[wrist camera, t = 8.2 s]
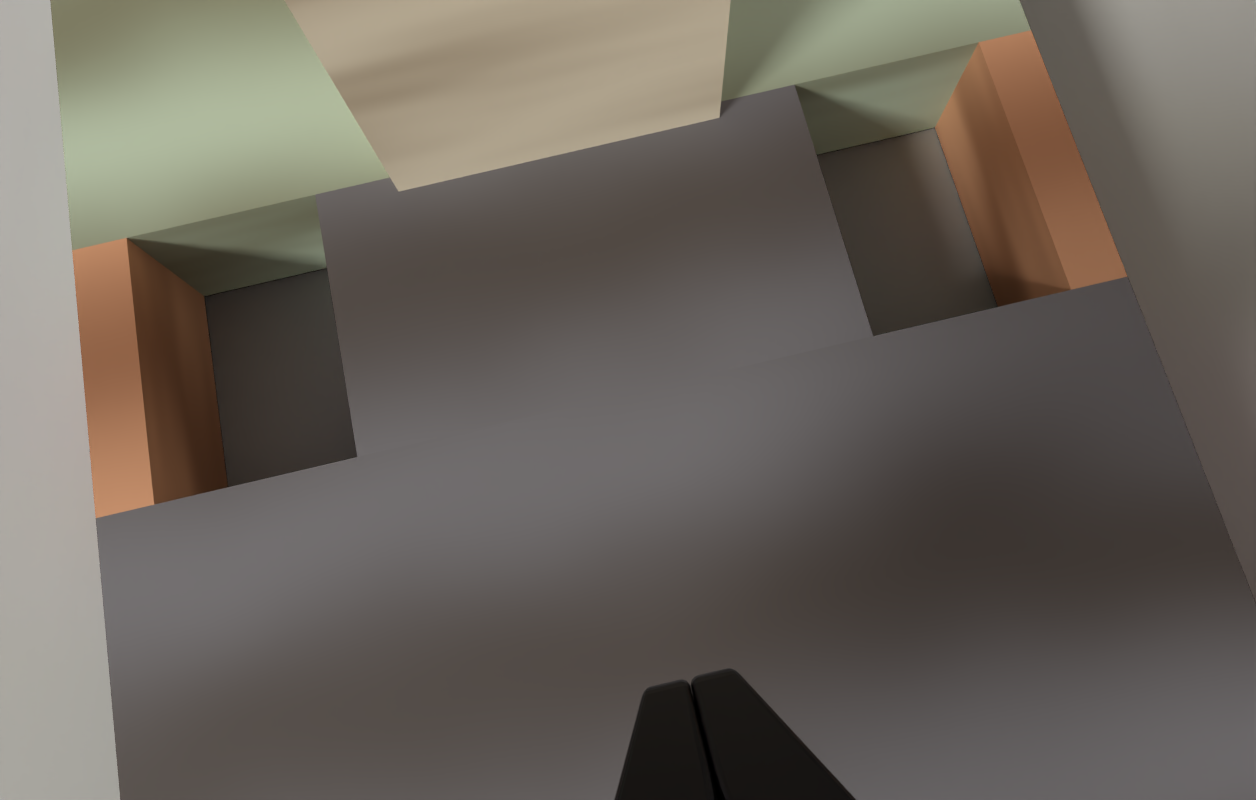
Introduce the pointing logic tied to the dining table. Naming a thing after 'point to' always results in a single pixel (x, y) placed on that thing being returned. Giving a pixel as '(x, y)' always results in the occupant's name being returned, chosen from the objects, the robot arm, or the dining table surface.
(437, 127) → the birch block
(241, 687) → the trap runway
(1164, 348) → the dining table surface
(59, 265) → the dining table surface
